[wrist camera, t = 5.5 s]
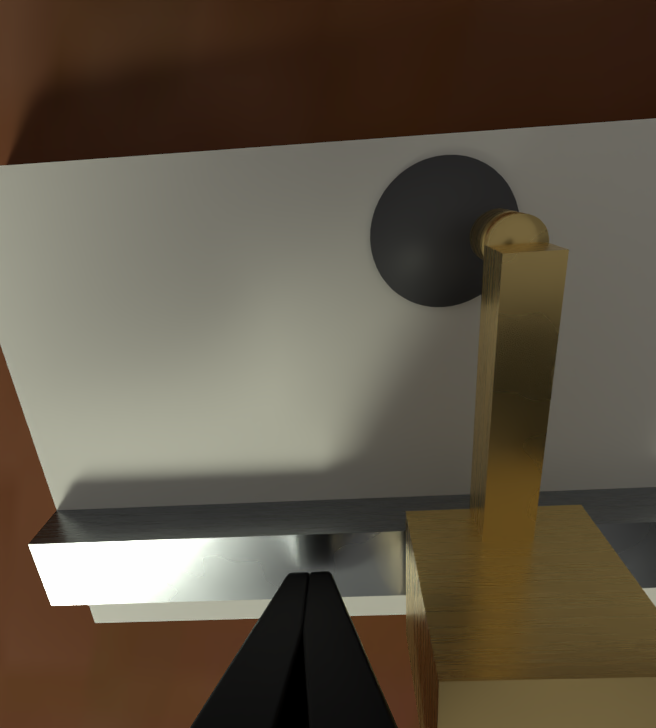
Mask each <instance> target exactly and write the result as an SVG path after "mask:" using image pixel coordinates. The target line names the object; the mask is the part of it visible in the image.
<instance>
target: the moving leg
mask: <svg viewBox="0 0 656 728" xmlns="http://www.w3.org/2000/svg"><path fill="white" fill-rule="evenodd" d="M470 245H471V248H472V250H473V252H474V253H475V254H476V256H478V257H479V258H480V259H482V260H483V275H482V293H481V311H480V329H479V346H478V364H477V382H476V400H475V417H474V435H473V453H472V471H471V488H470V506H469V509H450V510H424V511H406V636H407V643H408V650H409V656H410V663H411V670H412V677H413V684H414V691H415V698H416V705H417V712H418V719H419V725H420V728H656V607H655V605H654V604H653V603H652V601H651V600H650V598H649V597H648V596H647V594H646V593H645V592H644V590H643V589H642V587H641V586H640V585H639V583H638V582H637V581H636V579H635V578H634V576H633V575H632V574H631V572H630V571H629V570H628V568H627V567H626V565H625V564H624V563H623V561H622V560H621V559H620V557H619V556H618V555H617V553H616V552H615V550H614V549H613V548H612V546H611V545H610V544H609V542H608V541H607V539H606V538H605V537H604V535H603V534H602V533H601V531H600V530H599V528H598V527H597V526H596V524H595V523H594V522H593V520H592V519H591V517H590V516H589V515H588V513H587V512H586V511H585V509H584V508H583V506H582V505H557V506H538V501H539V492H540V484H541V476H542V468H543V459H544V451H545V443H546V435H547V427H548V418H549V410H550V402H551V394H552V385H553V377H554V369H555V361H556V353H557V344H558V336H559V328H560V320H561V312H562V303H563V295H564V287H565V279H566V270H567V262H568V254H569V249H566V248H563V247H560V246H557V245H554V244H551V243H549V234H548V230H547V228H546V226H545V224H544V223H543V222H542V221H541V220H540V219H539V218H537V217H535V216H533V215H530V214H526V213H521V212H517V211H512V210H508V209H502V208H497V209H492V210H489V211H487V212H485V213H483V214H482V215H481V216H479V217H478V219H477V220H476V221H475V222H474V224H473V226H472V228H471V231H470Z"/></svg>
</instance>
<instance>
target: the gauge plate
mask: <svg viewBox="0 0 656 728" xmlns="http://www.w3.org/2000/svg"><path fill="white" fill-rule="evenodd" d="M497 208H502V209H508V210H512V211H517V212H521V213H526V214H530V215H533V216H535V217H537V218H539V219H540V220H541V221H542V222H543V223H544V224H545V226H546V228H547V230H548V234H549V243H551V244H554V245H557V246H560V247H563V248H566V249H569V254H568V262H567V270H566V279H565V287H564V295H563V303H562V312H561V320H560V328H559V336H558V344H557V353H556V361H555V369H554V377H553V385H552V394H551V402H550V410H549V418H548V427H547V435H546V443H545V451H544V459H543V468H542V476H541V484H540V492H541V491H566V490H592V489H618V488H643V487H656V118H653V119H639V120H625V121H612V122H598V123H584V124H570V125H556V126H543V127H529V128H515V129H501V130H487V131H474V132H460V133H446V134H432V135H418V136H405V137H391V138H377V139H363V140H350V141H336V142H322V143H308V144H294V145H281V146H267V147H253V148H239V149H225V150H212V151H198V152H184V153H170V154H156V155H143V156H129V157H115V158H101V159H88V160H74V161H60V162H46V163H32V164H19V165H5V166H0V345H1V348H2V350H3V353H4V356H5V359H6V362H7V365H8V368H9V371H10V374H11V377H12V380H13V383H14V386H15V389H16V392H17V395H18V398H19V400H20V403H21V406H22V409H23V412H24V415H25V418H26V421H27V424H28V427H29V430H30V433H31V436H32V439H33V442H34V445H35V448H36V451H37V453H38V456H39V459H40V462H41V465H42V468H43V471H44V474H45V477H46V480H47V483H48V486H49V489H50V492H51V495H52V498H53V501H54V503H55V506H56V509H57V510H78V509H104V508H130V507H155V506H181V505H207V504H232V503H258V502H284V501H310V500H335V499H361V498H387V497H412V496H438V495H464V494H470V488H471V471H472V453H473V435H474V417H475V400H476V382H477V364H478V346H479V329H480V311H481V293H482V275H483V260H482V259H480V258H479V257H478V256H476V254H475V253H474V252H473V250H472V248H471V245H470V231H471V228H472V226H473V224H474V222H475V221H476V220H477V219H478V217H479V216H481V215H482V214H483V213H485V212H487V211H489V210H492V209H497ZM642 589H643V590H644V592H645V593H646V594H647V596H648V597H649V598H650V600H651V601H652V603H653V604H654V605H655V607H656V588H642ZM342 599H343V601H344V604H345V606H346V608H347V611H348V613H349V615H350V616H362V615H398V614H406V595H396V596H363V597H342ZM270 601H271V599H262V600H228V601H195V602H161V603H127V604H94V605H89V606H90V609H91V612H92V615H93V618H94V621H95V623H112V622H148V621H184V620H219V619H255V618H260V617H261V615H262V613H263V612H264V610H265V609H266V607H267V606H268V604H269V602H270Z"/></svg>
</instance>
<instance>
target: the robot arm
mask: <svg viewBox="0 0 656 728" xmlns="http://www.w3.org/2000/svg"><path fill="white" fill-rule="evenodd" d="M190 728H398V727H397V725H396V723H395V720H394V718H393V716H392V713H391V711H390V709H389V706H388V704H387V702H386V699H385V697H384V695H383V692H382V690H381V688H380V685H379V683H378V681H377V678H376V676H375V674H374V671H373V669H372V667H371V664H370V662H369V660H368V657H367V655H366V653H365V650H364V648H363V646H362V643H361V641H360V639H359V636H358V634H357V632H356V629H355V627H354V625H353V622H352V620H351V618H350V615H349V613H348V611H347V608H346V606H345V604H344V601H343V599H342V597H341V594H340V592H339V590H338V587H337V585H336V582H335V580H334V578H333V576H332V574H331V573H330V572H329V571H322V572H311V573H308V572H292V573H289V574H288V575H287V576H286V577H285V579H284V580H283V582H282V583H281V585H280V587H279V588H278V590H277V591H276V593H275V595H274V596H273V598H272V599H271V601H270V602H269V604H268V606H267V607H266V609H265V610H264V612H263V613H262V615H261V617H260V618H259V620H258V621H257V623H256V624H255V626H254V628H253V629H252V631H251V632H250V634H249V636H248V637H247V639H246V640H245V642H244V643H243V645H242V647H241V648H240V650H239V651H238V653H237V654H236V656H235V658H234V659H233V661H232V662H231V664H230V665H229V667H228V669H227V670H226V672H225V673H224V675H223V677H222V678H221V680H220V681H219V683H218V684H217V686H216V688H215V689H214V691H213V692H212V694H211V695H210V697H209V699H208V700H207V702H206V703H205V705H204V706H203V708H202V710H201V711H200V713H199V714H198V716H197V718H196V719H195V721H194V722H193V724H192V725H191V727H190Z"/></svg>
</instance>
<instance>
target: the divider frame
mask: <svg viewBox="0 0 656 728" xmlns="http://www.w3.org/2000/svg"><path fill="white" fill-rule="evenodd" d="M557 505H582V506H583V508H584V509H585V511H586V512H587V513H588V515H589V516H590V517H591V519H592V520H593V522H594V523H595V524H596V526H597V527H598V528H599V530H600V531H601V533H602V534H603V535H604V537H605V538H606V539H607V541H608V542H609V544H610V545H611V546H612V548H613V549H614V550H615V552H616V553H617V555H618V556H619V557H620V559H621V560H622V561H623V563H624V564H625V565H626V567H627V568H628V570H629V571H630V572H631V574H632V575H633V576H634V578H635V579H636V581H637V582H638V583H639V585H640V586H641V587H642V588H656V487H643V488H618V489H592V490H566V491H541V492H539V501H538V506H557ZM469 506H470V494H464V495H438V496H412V497H387V498H361V499H335V500H310V501H284V502H258V503H232V504H207V505H181V506H155V507H130V508H104V509H78V510H57V511H56V512H55V513H54V514H53V516H52V517H51V518H50V519H49V520H48V521H47V523H46V524H45V525H44V526H43V527H42V529H41V530H40V531H39V532H38V533H37V535H36V536H35V537H34V538H33V539H32V541H31V542H30V543H29V544H28V545H29V548H30V550H31V553H32V556H33V558H34V561H35V564H36V566H37V569H38V572H39V574H40V577H41V579H42V582H43V585H44V587H45V590H46V593H47V595H48V598H49V601H50V603H51V606H60V605H94V604H127V603H161V602H195V601H228V600H262V599H272V598H273V596H274V595H275V593H276V591H277V590H278V588H279V587H280V585H281V583H282V582H283V580H284V579H285V577H286V576H287V575H288V574H289V573H292V572H308V573H311V572H322V571H329V572H330V573H331V574H332V576H333V578H334V580H335V582H336V585H337V587H338V590H339V592H340V594H341V597H363V596H396V595H406V511H424V510H450V509H469Z"/></svg>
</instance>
